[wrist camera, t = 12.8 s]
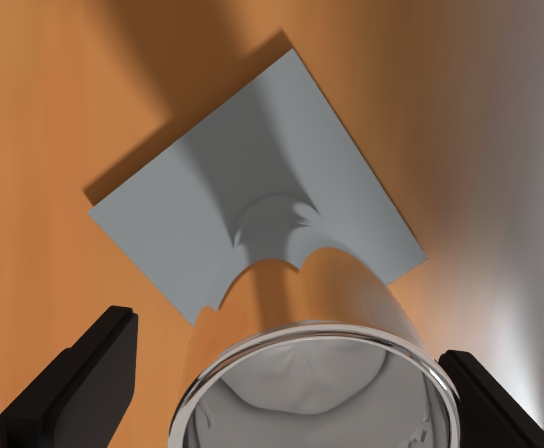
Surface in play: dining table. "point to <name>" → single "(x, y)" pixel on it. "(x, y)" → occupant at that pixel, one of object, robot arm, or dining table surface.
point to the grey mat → (252, 187)
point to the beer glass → (307, 349)
